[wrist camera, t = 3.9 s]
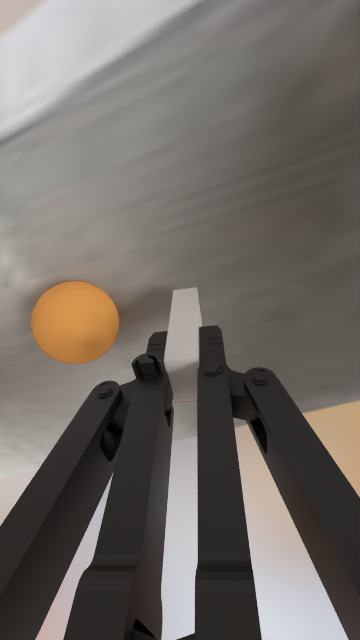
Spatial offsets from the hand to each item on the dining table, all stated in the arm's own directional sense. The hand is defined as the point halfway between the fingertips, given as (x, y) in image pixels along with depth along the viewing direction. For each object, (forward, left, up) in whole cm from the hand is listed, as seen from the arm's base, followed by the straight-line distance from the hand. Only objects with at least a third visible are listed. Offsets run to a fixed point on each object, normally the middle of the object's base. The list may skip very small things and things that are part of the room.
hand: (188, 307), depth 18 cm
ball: (+7, 0, 0) cm, 8 cm away
